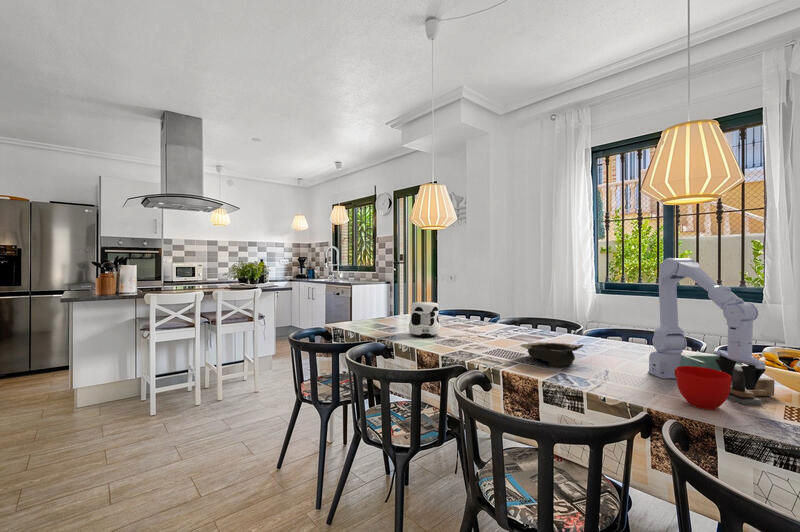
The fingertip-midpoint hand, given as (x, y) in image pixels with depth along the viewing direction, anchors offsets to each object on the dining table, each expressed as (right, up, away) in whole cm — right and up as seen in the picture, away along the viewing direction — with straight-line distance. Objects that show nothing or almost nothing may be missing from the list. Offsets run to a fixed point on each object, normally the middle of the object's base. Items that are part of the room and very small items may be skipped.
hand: (738, 385), depth 118 cm
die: (+9, -5, +11) cm, 15 cm away
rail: (0, -4, +5) cm, 7 cm away
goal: (+9, -4, +22) cm, 24 cm away
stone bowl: (-42, -4, +43) cm, 60 cm away
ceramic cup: (-15, -5, -3) cm, 16 cm away
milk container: (-92, -2, +95) cm, 132 cm away
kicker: (+6, -4, +1) cm, 7 cm away
